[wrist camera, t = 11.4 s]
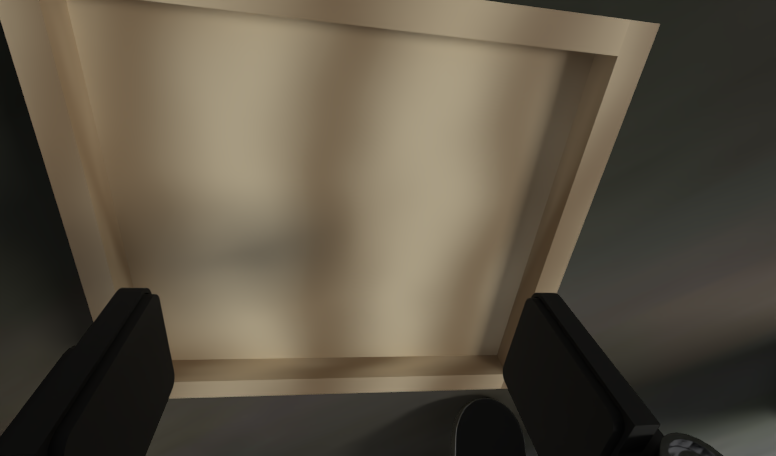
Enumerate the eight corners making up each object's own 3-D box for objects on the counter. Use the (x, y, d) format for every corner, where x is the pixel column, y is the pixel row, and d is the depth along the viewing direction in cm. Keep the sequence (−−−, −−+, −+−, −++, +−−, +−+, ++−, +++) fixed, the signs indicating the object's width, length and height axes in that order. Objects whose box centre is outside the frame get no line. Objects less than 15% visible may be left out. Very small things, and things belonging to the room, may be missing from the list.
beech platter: (591, 19, 15) (660, 24, 12) (493, 334, 23) (520, 388, 20) (64, -50, 12) (-27, -69, 9) (151, 336, 20) (117, 400, 17)
